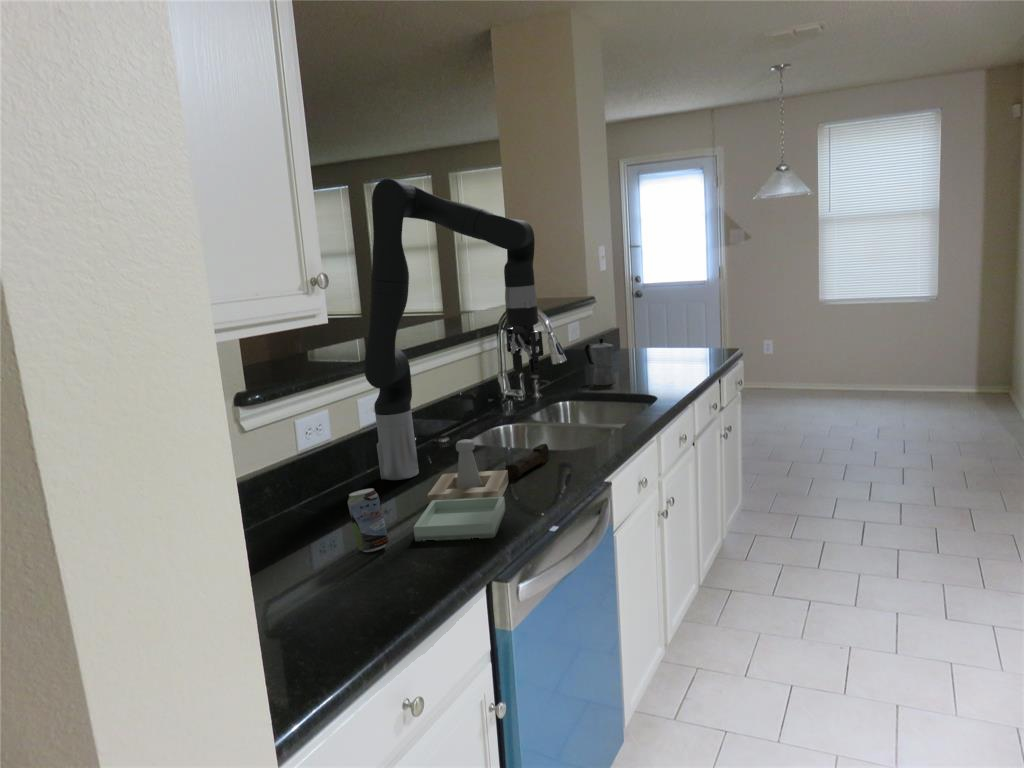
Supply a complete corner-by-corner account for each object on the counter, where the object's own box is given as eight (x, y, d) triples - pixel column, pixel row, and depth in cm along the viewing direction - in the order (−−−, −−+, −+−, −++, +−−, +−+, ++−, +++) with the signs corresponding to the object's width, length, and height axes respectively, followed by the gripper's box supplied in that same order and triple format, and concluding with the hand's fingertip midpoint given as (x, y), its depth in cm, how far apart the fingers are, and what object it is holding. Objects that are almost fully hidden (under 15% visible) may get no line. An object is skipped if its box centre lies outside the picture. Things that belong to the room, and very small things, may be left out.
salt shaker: (463, 500, 175) (457, 445, 172) (454, 494, 180) (447, 440, 177) (486, 494, 177) (481, 440, 175) (476, 488, 182) (470, 436, 180)
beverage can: (375, 557, 146) (367, 497, 144) (347, 552, 150) (338, 494, 148) (396, 545, 151) (389, 487, 149) (369, 541, 155) (361, 484, 153)
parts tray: (415, 541, 152) (413, 527, 152) (433, 513, 168) (432, 500, 167) (494, 537, 150) (492, 523, 149) (505, 509, 165) (504, 496, 165)
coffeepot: (625, 382, 301) (621, 336, 298) (610, 386, 294) (606, 340, 291) (595, 380, 312) (591, 336, 309) (579, 384, 305) (576, 339, 302)
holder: (429, 507, 172) (427, 494, 171) (444, 485, 187) (443, 473, 187) (499, 504, 170) (497, 491, 169) (508, 481, 185) (507, 470, 185)
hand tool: (518, 480, 186) (517, 462, 185) (505, 479, 188) (503, 461, 188) (558, 459, 201) (556, 442, 201) (545, 458, 204) (543, 441, 203)
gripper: (494, 305, 186) (499, 371, 189) (521, 307, 174) (526, 377, 177) (521, 302, 190) (526, 367, 193) (549, 304, 177) (554, 373, 180)
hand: (526, 372), depth 185 cm, fingers open, 8 cm apart
